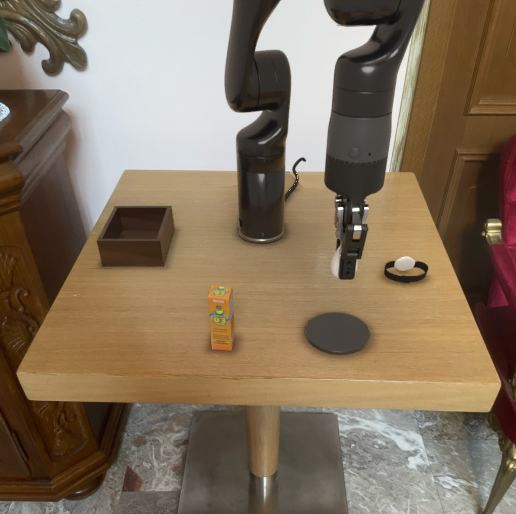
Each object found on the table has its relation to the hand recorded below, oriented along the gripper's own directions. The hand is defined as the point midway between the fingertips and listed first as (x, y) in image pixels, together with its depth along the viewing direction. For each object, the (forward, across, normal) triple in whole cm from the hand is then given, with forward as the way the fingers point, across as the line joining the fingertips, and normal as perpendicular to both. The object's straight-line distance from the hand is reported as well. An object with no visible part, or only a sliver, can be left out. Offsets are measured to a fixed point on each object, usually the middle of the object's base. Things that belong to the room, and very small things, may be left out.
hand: (344, 269), depth 75 cm
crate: (+12, +28, +36) cm, 47 cm away
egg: (+1, 0, 0) cm, 1 cm away
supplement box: (+12, -3, +18) cm, 21 cm away
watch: (+12, +17, -14) cm, 25 cm away
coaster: (+12, 0, 0) cm, 12 cm away
